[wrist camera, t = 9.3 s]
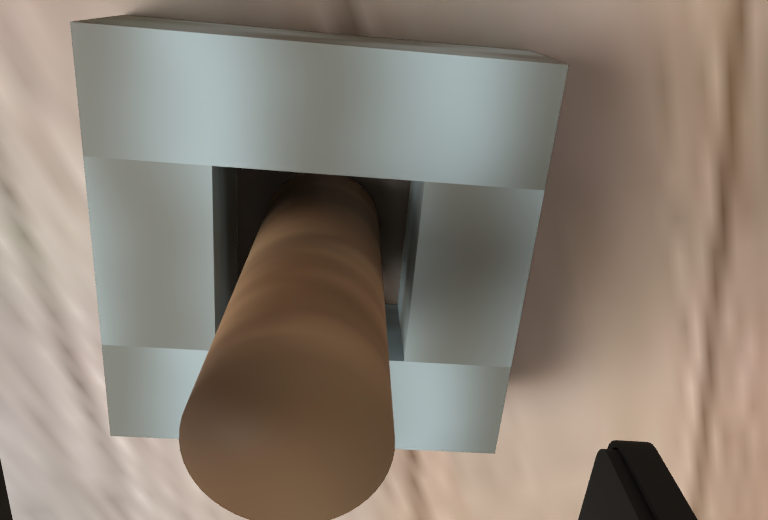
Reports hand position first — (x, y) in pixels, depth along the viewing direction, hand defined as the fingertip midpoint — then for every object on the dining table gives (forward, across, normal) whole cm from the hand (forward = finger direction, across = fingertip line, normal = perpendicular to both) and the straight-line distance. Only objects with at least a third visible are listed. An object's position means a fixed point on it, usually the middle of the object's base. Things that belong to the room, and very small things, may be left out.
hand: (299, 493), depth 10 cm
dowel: (+14, +1, +1) cm, 14 cm away
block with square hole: (+14, +1, +1) cm, 14 cm away
